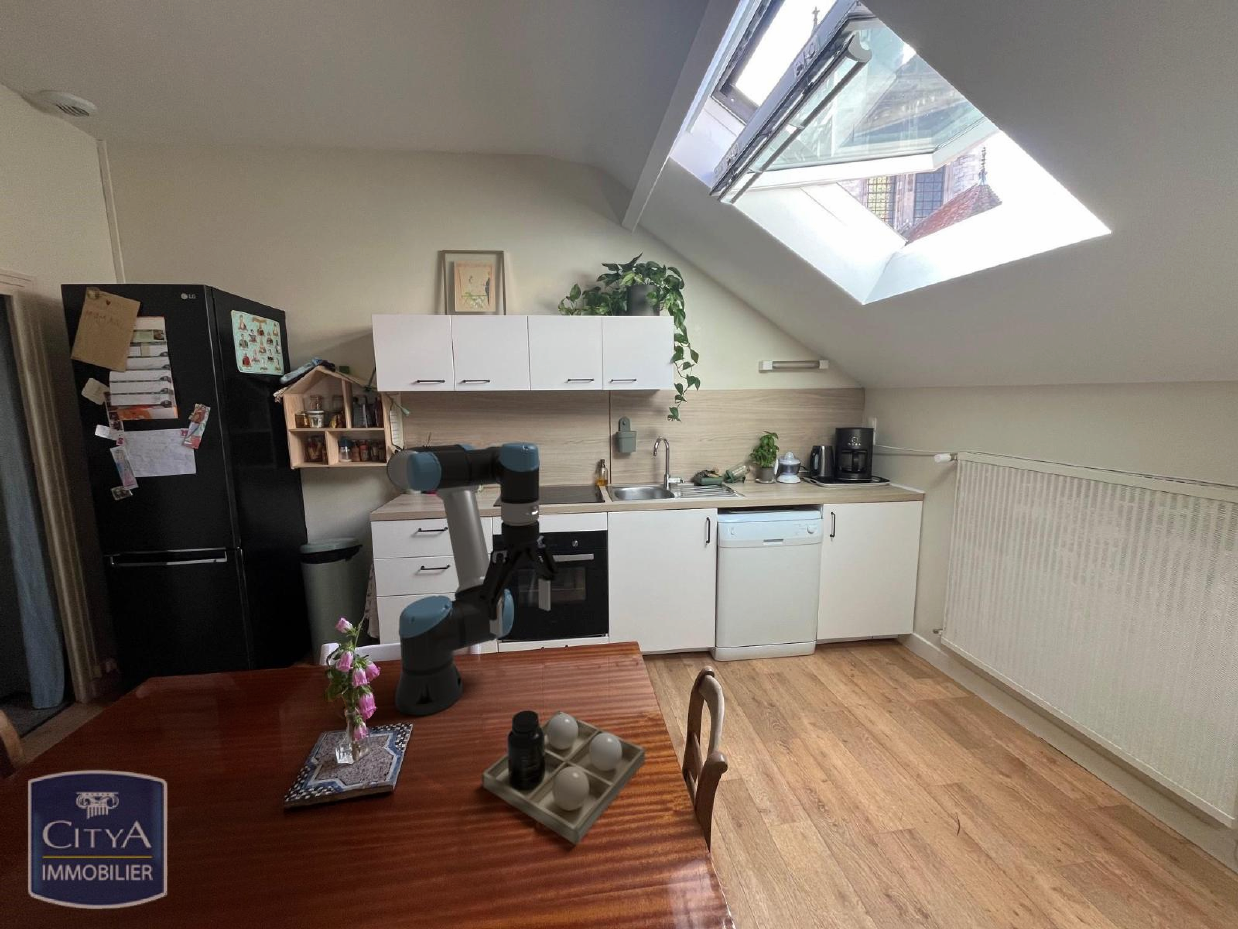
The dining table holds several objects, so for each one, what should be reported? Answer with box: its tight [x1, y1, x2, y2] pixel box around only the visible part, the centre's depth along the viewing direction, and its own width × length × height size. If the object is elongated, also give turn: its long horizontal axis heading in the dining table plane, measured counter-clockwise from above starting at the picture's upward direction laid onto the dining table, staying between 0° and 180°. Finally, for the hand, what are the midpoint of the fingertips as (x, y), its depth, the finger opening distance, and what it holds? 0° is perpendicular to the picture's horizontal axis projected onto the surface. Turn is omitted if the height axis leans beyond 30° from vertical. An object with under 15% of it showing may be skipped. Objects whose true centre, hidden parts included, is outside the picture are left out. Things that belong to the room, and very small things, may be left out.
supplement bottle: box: [506, 710, 545, 790], centre depth 90 cm, size 7×7×12 cm
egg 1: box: [547, 713, 578, 750], centre depth 99 cm, size 6×6×6 cm
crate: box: [481, 710, 646, 846], centre depth 92 cm, size 22×22×4 cm
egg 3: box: [589, 732, 622, 771], centre depth 94 cm, size 6×6×6 cm
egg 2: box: [552, 767, 589, 811], centre depth 85 cm, size 6×6×6 cm
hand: (521, 620), depth 101 cm, fingers open, 13 cm apart
